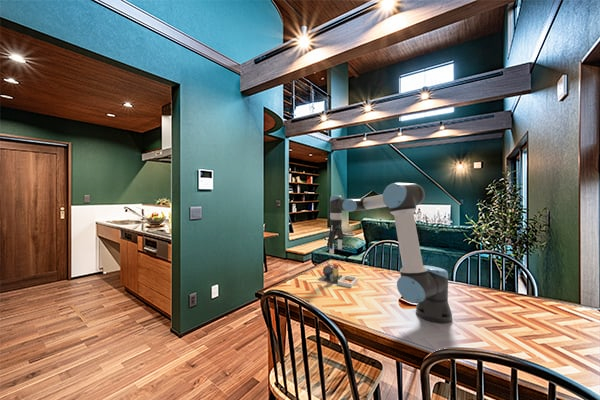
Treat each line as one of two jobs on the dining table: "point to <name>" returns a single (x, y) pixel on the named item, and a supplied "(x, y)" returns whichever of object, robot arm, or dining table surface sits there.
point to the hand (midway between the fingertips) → (335, 251)
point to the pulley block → (328, 275)
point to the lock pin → (335, 272)
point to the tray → (346, 282)
